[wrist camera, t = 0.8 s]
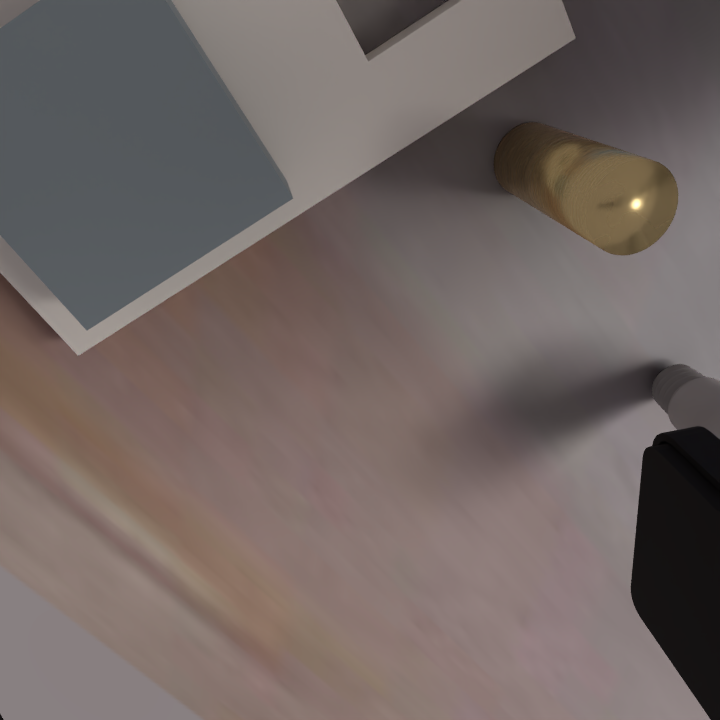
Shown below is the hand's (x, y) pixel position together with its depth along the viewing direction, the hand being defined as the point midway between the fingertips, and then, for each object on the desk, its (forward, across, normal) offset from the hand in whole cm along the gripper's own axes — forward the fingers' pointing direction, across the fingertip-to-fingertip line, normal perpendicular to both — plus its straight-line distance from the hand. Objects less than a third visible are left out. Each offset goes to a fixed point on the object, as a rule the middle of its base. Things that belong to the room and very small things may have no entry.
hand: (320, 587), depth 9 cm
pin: (+23, -12, 0) cm, 26 cm away
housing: (+21, +5, -3) cm, 22 cm away
